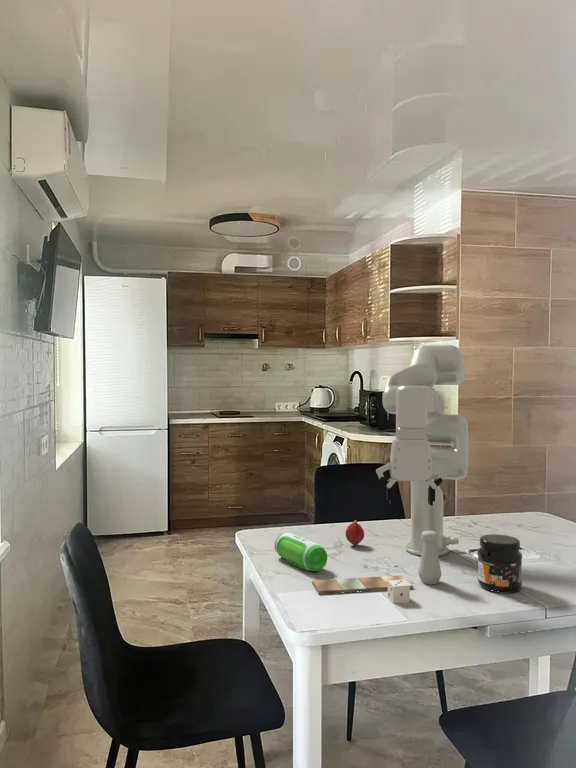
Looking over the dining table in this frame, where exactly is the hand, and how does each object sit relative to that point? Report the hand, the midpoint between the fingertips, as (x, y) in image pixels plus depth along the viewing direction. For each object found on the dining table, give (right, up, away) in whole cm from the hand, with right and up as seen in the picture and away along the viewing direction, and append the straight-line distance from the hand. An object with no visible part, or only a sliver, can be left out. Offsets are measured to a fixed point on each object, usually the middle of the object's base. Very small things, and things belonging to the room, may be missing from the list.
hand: (410, 504), depth 147 cm
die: (-4, -21, -7) cm, 23 cm away
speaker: (-27, -21, +20) cm, 40 cm away
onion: (-10, -21, +38) cm, 44 cm away
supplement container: (+23, -21, +1) cm, 31 cm away
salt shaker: (+6, -21, +5) cm, 23 cm away
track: (-12, -21, +2) cm, 24 cm away
